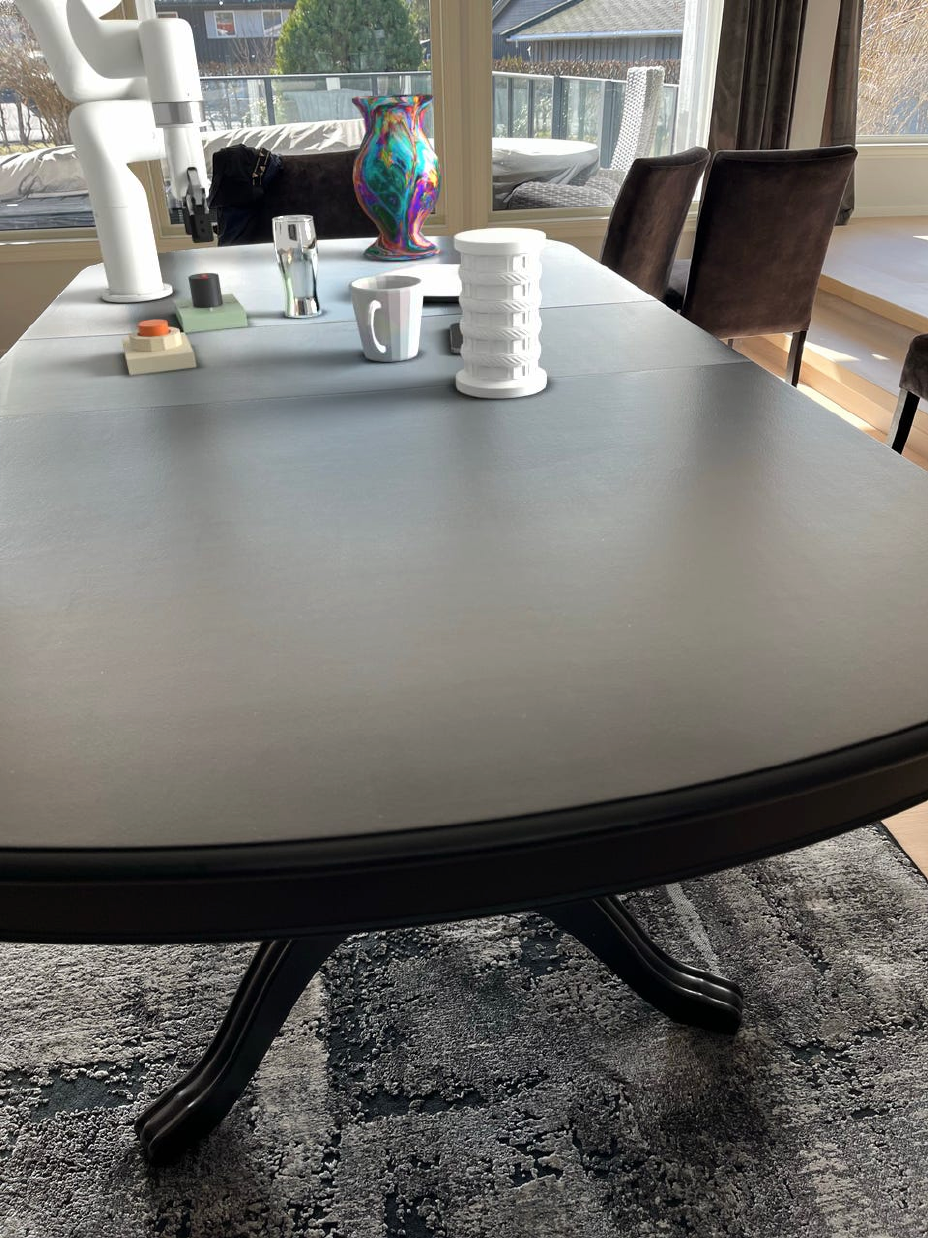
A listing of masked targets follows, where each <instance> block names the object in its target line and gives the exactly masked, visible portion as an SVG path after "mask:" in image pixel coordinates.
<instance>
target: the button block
mask: <svg viewBox="0 0 928 1238" xmlns="http://www.w3.org/2000/svg"><path fill="white" fill-rule="evenodd" d="M168 330H169V333H168V334H165V335H161V336H154V337H142V336H140V333H139V329H136V330H134V331H132V332H129V333H128V338H122V339H121V343H122V346H123V347H122V348H123V351H124V356H125V361H126V366H127V369H128V375H129V376H137V375H142V374H151V373H159V372H166V371H167V372H168V371H175V370H183V369H192V368H193V369H194V368H197V364H196V358H195V351H194V350H193V347H192V345H191V343H190V341H189V339H188V337H187V335H186V333H184V331H183V332H181V331H180V329H179V328H178V327H174V326H168Z"/></svg>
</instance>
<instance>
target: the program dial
mask: <svg viewBox="0 0 928 1238" xmlns="http://www.w3.org/2000/svg"><path fill="white" fill-rule="evenodd" d="M187 279H188V284H189V290H190V295H191V298H192V302H193V306H194V307H199V308H207V307H215V306H219V305H221V304H223V301H222V295H223V294H222V288H221V283H220V282H221V281H220V276H219V273H215V272H202V273H194V274H191V275H189V276H188V278H187Z"/></svg>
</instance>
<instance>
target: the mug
mask: <svg viewBox="0 0 928 1238" xmlns="http://www.w3.org/2000/svg"><path fill="white" fill-rule="evenodd" d="M348 291H349V295H350V300H351V304H352V308H353V312H354V317H355V321H356V325H357V329H358V334H359V338H360V342H361V346H362V351H363V354H364V356H365V358H366V359H368V360H371V361H374V362H380V363H381V362H383V363H393V362H402V361H407V360H409V359H412V358H414V357H416V356H417V354H418V352H419V345H420V342H419V341H420V333H421V324H422V323H421V322H422V313H423V302H424V301H423V292H424V281H423V280H422V279H420V278H417V277H413V276H406V275H382V276H375V275H372V276H366V277H362V278H361V277H360V278H358V279H354V280H353V281H351V282H350V283H349V284H348Z"/></svg>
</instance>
